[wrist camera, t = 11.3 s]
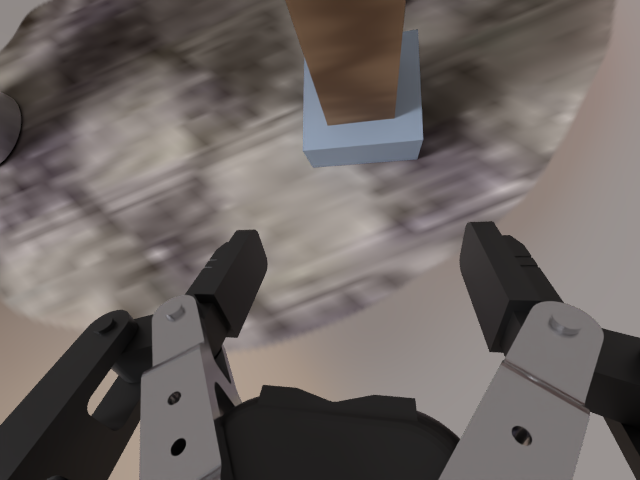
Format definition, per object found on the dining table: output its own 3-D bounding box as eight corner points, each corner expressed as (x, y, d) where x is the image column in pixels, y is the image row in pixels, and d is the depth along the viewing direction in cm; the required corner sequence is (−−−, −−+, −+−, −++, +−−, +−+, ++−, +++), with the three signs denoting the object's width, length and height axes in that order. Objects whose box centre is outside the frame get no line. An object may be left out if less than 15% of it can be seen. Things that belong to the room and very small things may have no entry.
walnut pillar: (327, 125, 19) (275, -29, 10) (327, 67, 20) (278, -134, 10) (394, 118, 18) (411, -62, 9) (392, 57, 19) (406, -175, 9)
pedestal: (312, 167, 22) (302, 150, 19) (313, 77, 23) (304, 48, 20) (417, 159, 21) (423, 139, 18) (412, 62, 22) (417, 29, 19)
